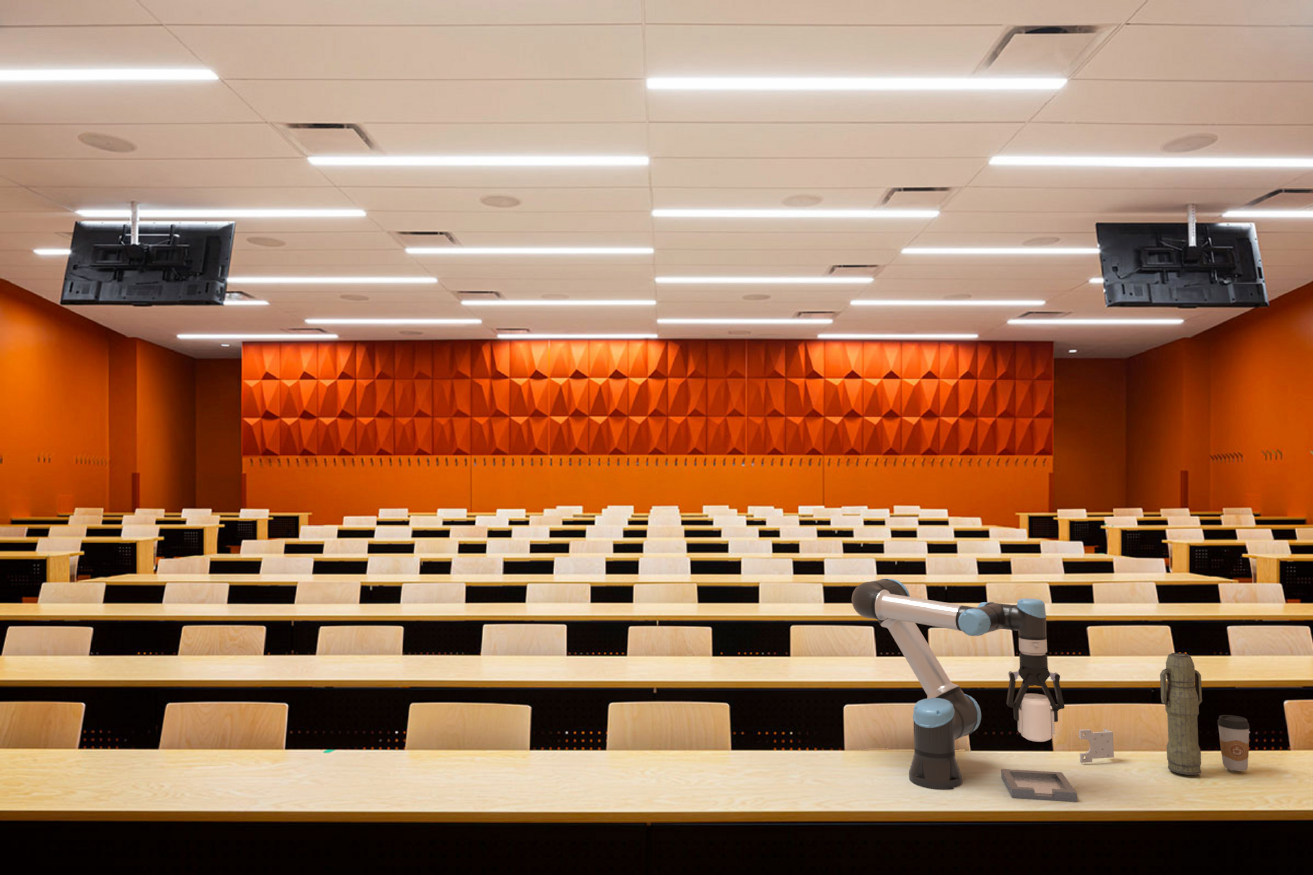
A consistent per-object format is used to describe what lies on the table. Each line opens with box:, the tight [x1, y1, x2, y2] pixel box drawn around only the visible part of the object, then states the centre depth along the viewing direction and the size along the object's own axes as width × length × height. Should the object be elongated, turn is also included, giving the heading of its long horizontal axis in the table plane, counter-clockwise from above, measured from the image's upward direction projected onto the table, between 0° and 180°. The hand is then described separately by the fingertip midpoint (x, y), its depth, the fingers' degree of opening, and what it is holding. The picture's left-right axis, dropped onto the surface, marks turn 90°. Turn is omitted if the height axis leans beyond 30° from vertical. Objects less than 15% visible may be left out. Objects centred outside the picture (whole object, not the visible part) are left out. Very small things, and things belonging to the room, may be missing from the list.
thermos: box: [1159, 652, 1203, 776], centre depth 264 cm, size 9×12×35 cm
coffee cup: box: [1217, 714, 1250, 772], centre depth 265 cm, size 8×8×15 cm
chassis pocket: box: [1000, 768, 1078, 803], centre depth 249 cm, size 17×17×2 cm
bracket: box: [1078, 727, 1115, 763], centre depth 275 cm, size 11×4×10 cm, turn 98°
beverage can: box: [1019, 693, 1053, 743], centre depth 250 cm, size 8×8×12 cm
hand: (1036, 732), depth 250 cm, fingers closed on beverage can, 8 cm apart
